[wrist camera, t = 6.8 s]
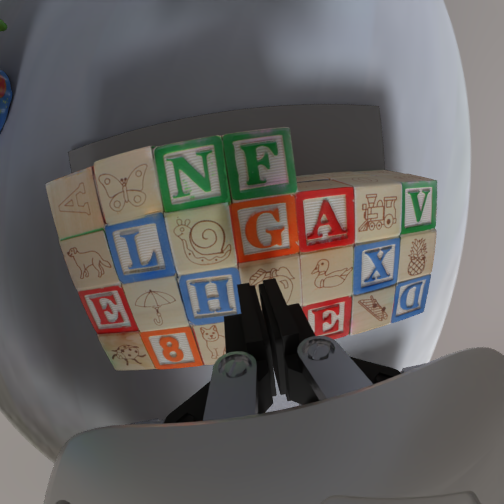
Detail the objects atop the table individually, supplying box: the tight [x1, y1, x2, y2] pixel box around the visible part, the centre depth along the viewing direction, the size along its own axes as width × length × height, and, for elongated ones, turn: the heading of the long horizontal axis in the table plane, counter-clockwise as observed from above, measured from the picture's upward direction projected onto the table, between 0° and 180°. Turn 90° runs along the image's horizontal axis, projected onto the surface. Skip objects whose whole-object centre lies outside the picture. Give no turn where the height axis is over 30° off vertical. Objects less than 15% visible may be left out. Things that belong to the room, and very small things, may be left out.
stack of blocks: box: [46, 127, 437, 370], centre depth 16 cm, size 21×6×12 cm
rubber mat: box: [68, 104, 385, 176], centre depth 18 cm, size 13×23×1 cm, turn 97°
